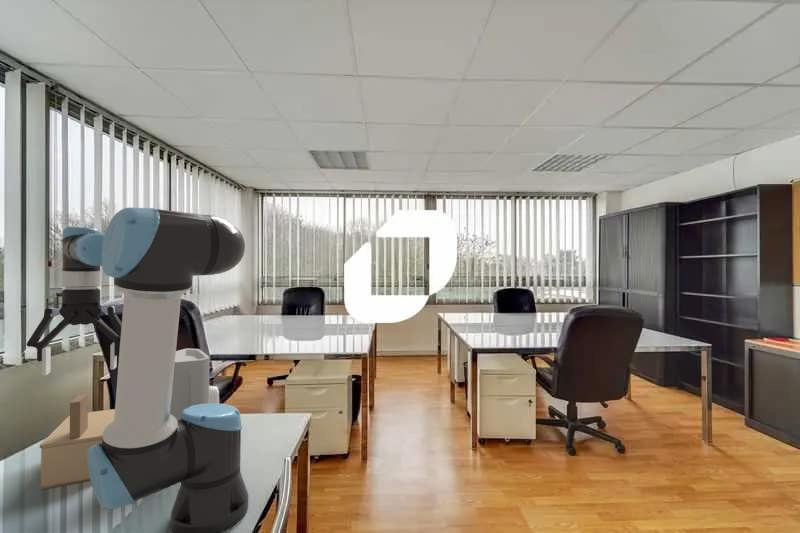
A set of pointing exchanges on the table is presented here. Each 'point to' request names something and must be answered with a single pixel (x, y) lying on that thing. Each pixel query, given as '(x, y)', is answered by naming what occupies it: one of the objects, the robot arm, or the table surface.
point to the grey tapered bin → (189, 380)
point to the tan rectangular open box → (65, 464)
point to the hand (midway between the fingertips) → (80, 371)
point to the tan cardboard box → (80, 424)
